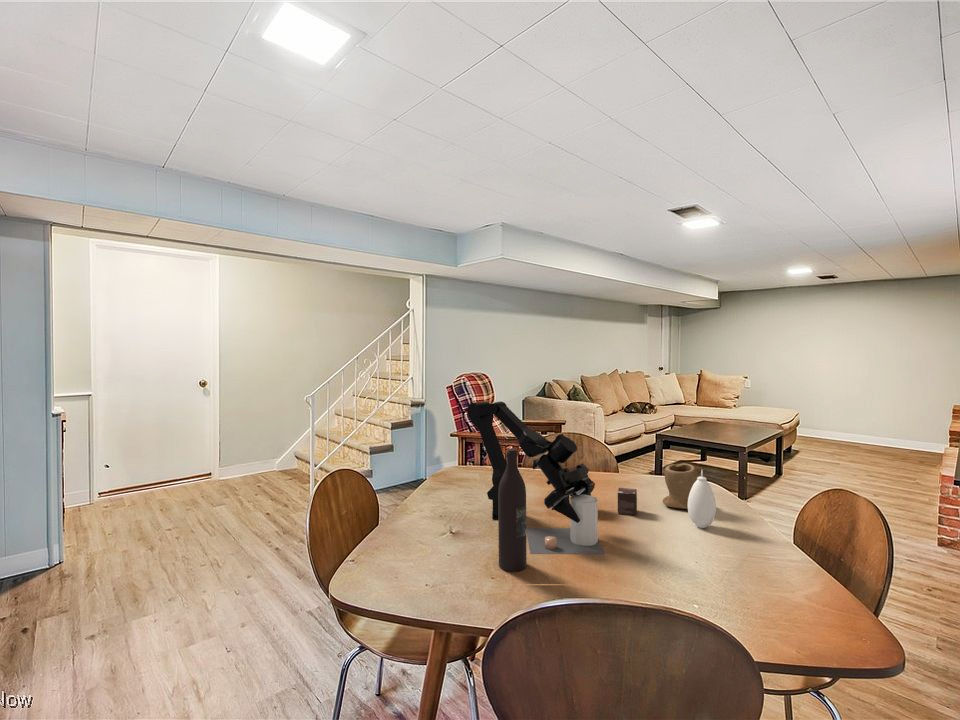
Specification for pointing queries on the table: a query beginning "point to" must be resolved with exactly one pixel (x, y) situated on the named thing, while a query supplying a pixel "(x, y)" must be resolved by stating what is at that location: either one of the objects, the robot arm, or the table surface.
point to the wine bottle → (512, 517)
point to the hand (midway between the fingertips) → (587, 517)
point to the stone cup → (679, 484)
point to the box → (627, 501)
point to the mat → (558, 542)
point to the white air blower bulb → (701, 503)
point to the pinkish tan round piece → (551, 543)
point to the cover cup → (584, 520)
